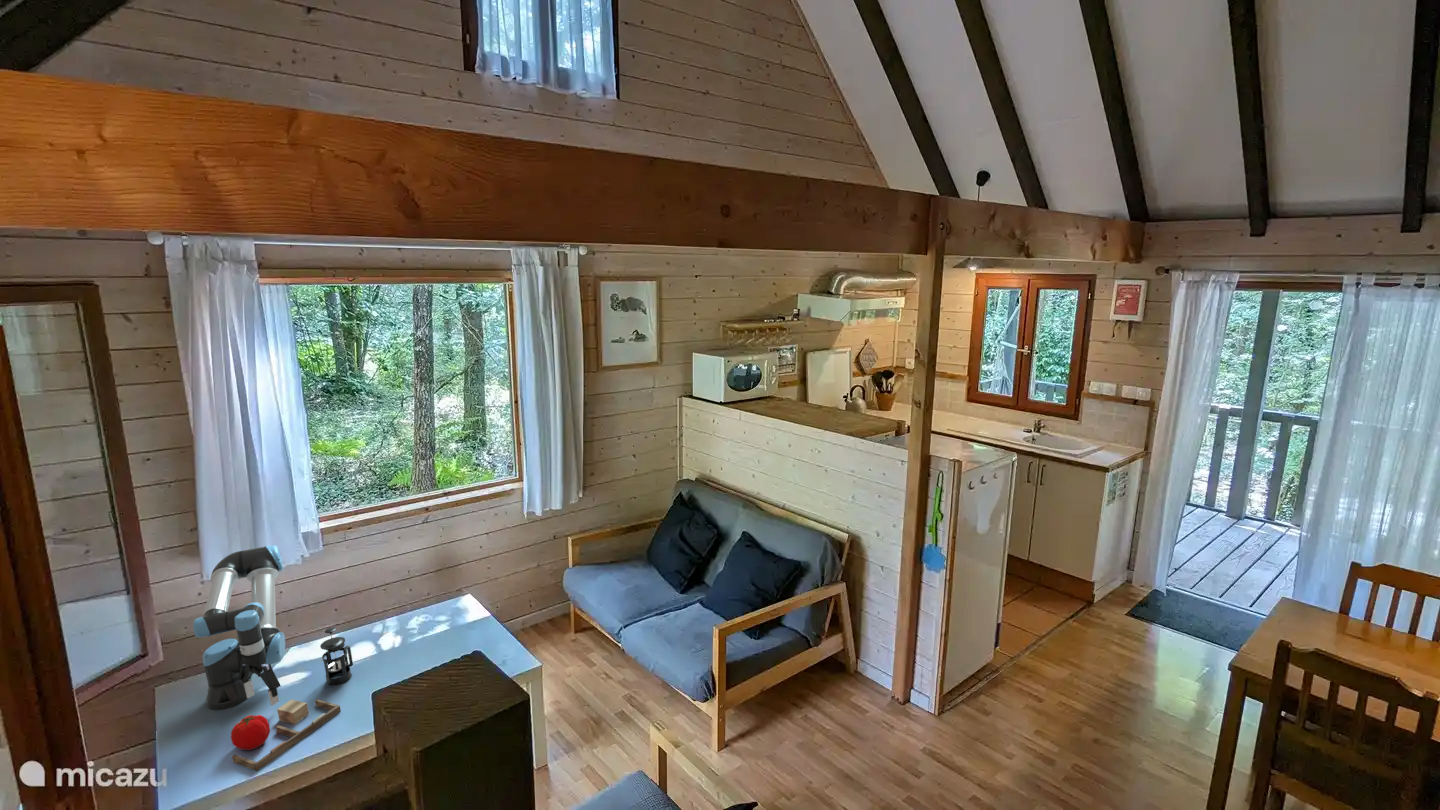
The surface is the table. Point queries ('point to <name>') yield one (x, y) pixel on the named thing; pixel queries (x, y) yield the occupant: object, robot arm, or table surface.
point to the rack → (290, 733)
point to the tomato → (250, 732)
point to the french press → (336, 660)
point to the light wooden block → (293, 711)
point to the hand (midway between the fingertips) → (262, 699)
